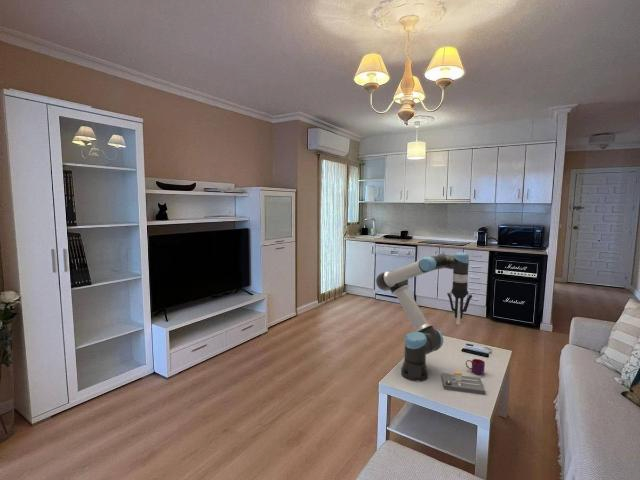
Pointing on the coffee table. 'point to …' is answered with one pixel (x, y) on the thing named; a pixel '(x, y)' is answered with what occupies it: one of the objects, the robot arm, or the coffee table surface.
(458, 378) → the fader
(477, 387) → the console
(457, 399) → the coffee table surface
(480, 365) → the mug
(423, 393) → the coffee table surface
